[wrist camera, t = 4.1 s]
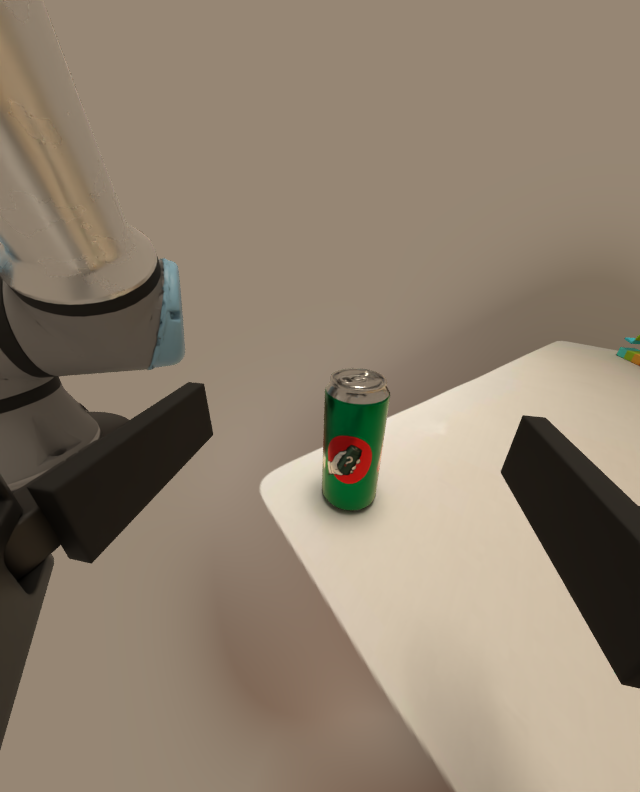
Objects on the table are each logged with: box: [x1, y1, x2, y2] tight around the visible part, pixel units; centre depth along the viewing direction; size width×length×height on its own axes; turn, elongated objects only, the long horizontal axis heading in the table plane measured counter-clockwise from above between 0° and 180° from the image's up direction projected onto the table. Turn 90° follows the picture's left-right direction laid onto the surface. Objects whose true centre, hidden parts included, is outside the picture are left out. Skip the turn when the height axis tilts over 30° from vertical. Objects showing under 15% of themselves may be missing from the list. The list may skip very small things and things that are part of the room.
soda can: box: [322, 368, 390, 511], centre depth 24 cm, size 5×5×12 cm
